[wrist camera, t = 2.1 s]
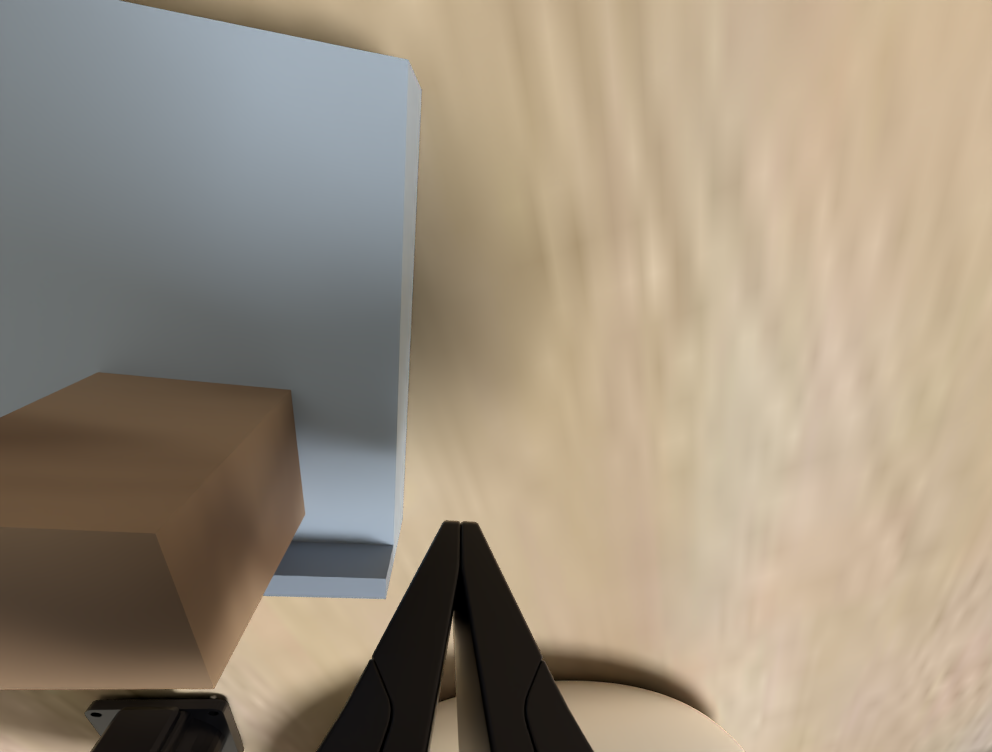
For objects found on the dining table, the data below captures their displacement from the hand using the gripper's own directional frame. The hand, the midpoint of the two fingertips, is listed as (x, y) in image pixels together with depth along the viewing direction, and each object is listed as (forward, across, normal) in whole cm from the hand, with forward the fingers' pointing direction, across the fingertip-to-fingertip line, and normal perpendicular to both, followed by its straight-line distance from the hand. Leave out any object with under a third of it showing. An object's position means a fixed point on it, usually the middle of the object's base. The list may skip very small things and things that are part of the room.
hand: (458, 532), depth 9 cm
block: (+2, +7, 0) cm, 7 cm away
